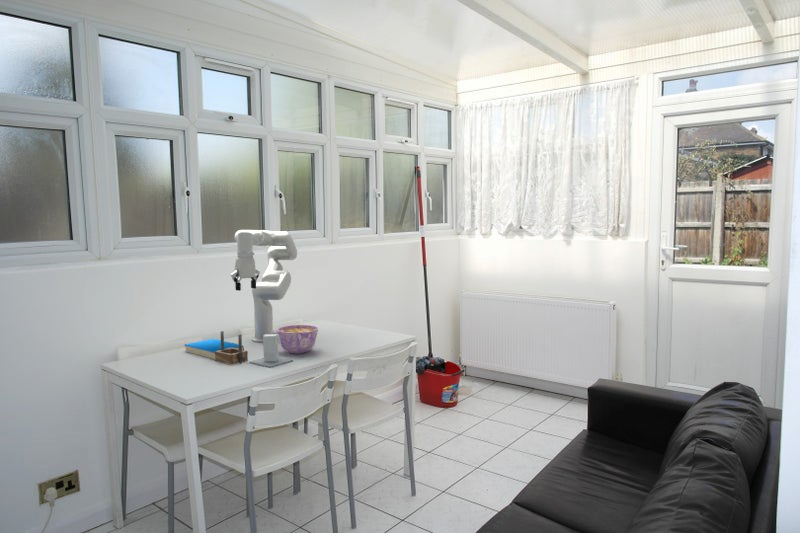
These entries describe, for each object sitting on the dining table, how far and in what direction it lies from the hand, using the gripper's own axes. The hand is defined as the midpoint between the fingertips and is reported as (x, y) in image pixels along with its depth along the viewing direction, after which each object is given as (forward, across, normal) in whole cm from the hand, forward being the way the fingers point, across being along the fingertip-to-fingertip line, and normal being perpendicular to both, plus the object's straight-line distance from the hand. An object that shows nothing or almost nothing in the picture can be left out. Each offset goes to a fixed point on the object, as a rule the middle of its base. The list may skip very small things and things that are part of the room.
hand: (246, 289), depth 274 cm
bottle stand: (+30, +20, +13) cm, 39 cm away
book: (+31, +14, -8) cm, 35 cm away
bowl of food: (+31, -10, +26) cm, 41 cm away
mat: (+30, +11, +30) cm, 44 cm away
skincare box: (+30, +11, +30) cm, 44 cm away
